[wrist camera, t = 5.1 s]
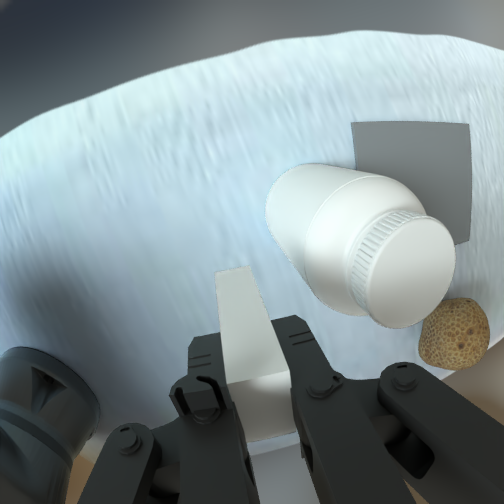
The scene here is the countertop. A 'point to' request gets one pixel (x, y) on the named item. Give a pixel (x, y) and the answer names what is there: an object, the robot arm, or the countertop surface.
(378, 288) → the pill bottle
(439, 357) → the natural sponge
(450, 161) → the mat
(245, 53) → the countertop surface
